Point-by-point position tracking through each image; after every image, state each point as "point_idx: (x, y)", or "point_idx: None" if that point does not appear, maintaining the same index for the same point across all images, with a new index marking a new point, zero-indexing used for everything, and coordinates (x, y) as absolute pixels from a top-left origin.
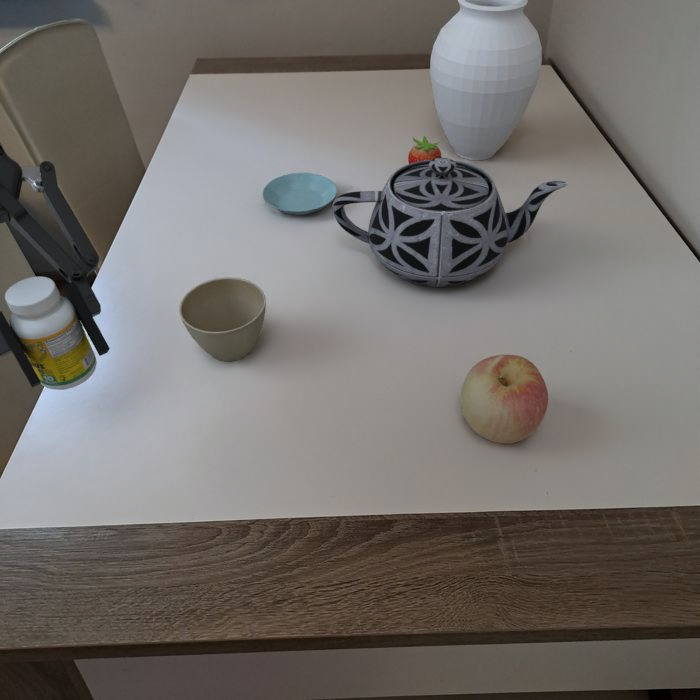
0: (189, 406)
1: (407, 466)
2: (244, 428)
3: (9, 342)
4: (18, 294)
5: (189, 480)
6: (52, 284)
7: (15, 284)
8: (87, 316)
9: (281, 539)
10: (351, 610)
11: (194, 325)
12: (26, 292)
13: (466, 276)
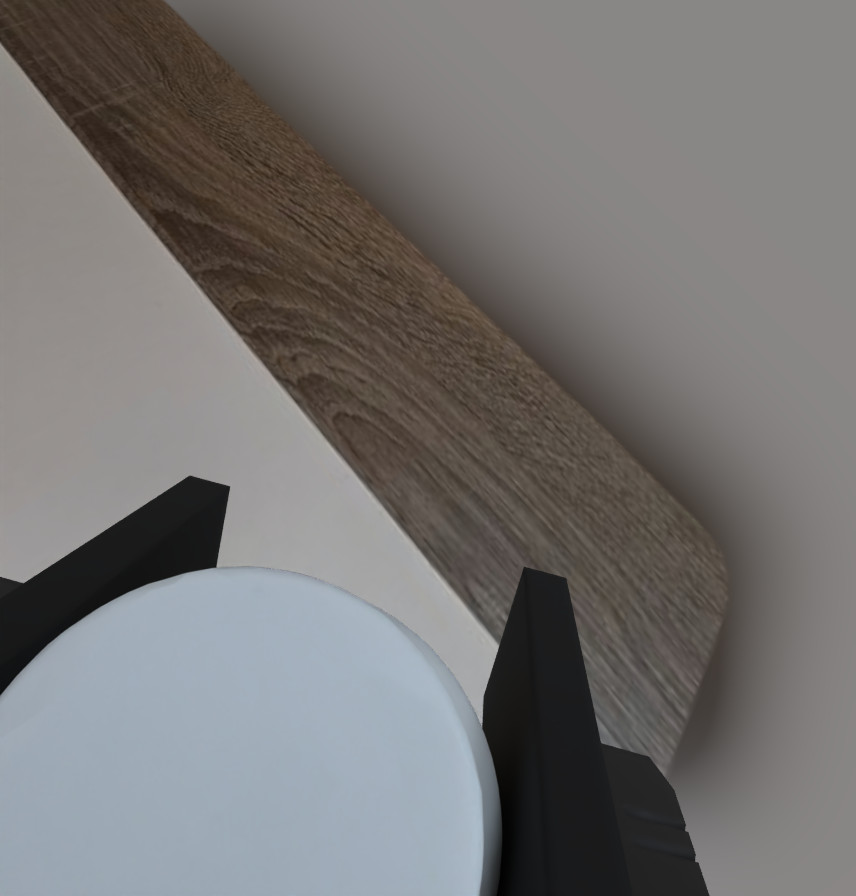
0: None
1: (26, 238)
2: (70, 551)
3: (584, 721)
4: (333, 876)
5: (276, 550)
6: (20, 694)
7: None
8: (104, 552)
9: (287, 325)
10: (328, 198)
11: None
12: (259, 831)
13: None
